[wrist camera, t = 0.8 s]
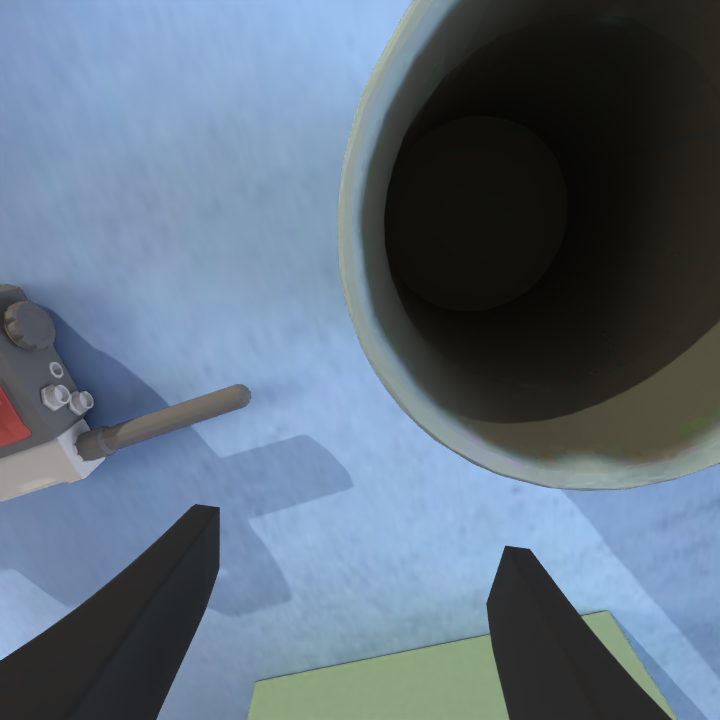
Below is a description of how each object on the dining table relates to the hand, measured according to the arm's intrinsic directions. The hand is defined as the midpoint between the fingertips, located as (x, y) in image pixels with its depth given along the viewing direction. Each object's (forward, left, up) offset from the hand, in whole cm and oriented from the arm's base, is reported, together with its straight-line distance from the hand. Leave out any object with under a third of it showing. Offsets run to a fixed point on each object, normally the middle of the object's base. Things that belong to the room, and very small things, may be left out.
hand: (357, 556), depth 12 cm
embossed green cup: (+9, +1, -10) cm, 14 cm away
